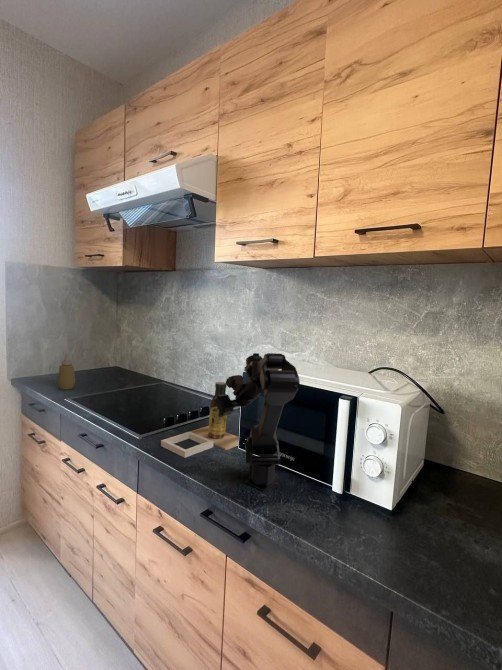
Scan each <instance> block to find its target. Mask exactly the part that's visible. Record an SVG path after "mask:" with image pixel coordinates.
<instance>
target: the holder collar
mask: <svg viewBox="0 0 502 670" xmlns="http://www.w3.org/2000/svg"><path fill="white" fill-rule="evenodd" d="M187 440H191V441H194V442H196V443H198V444H197V445H194V446H192V447H189V448H186V449H185V448H184V447H181V446H179V445H177V443H180V442H183V441H187ZM160 447H162V448H163V449H166V450H168V451H170V452H173V453H174V454H176V455H178V456H180V457H182V458H184V459H186V458H188V457H190V456H194V455H196V454H198V453H202V452H205V451H206V450H209V449H212V448H214V445H213V441H211V440H209V439H206V438H204V437H202V436H199V435H197V434H194V433H192V432H190V431H186V432H183V433H180V434H178V435H175V436H171V437H167V438H165V439H161V440H160Z"/></svg>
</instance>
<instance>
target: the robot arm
mask: <svg viewBox="0 0 502 670" xmlns="http://www.w3.org/2000/svg"><path fill="white" fill-rule="evenodd" d="M244 372H245V374H246V376H247V378H249V377H250V378H249V379H248V381H247V383H246V384H243V377H244V376H242V375H241V374H237V375H231V376H228V378H226V380H225V383H226V385H227V388H229V389H232V390H233V392H232V394H233V396H235V399H231V397H230V394H223V395H218V396H217V397H216V398H215V403H216V405H217V407H218V410H219V414H218V415H219V417H223V416H226V415H227V416H228V415H231V414H232V413H233V412H234V408H239V407H240V409H241V408H245V407H246V406H248V405H249V404H251V403H252V402H253V401H254V400H256V399H257V397H258V396H259V395H260V394H263V395H264V397H265V403H264V407H262V411H261V415H260V419H259V423H258V424H253V425H252V426H251V429H250V432H249V433H250V434H249V436H248V437H247V439H246V440H247V442H246V443H244V446H245V448H244V449H245V460H244V461H245V463H246V464H248V468H249V469H248V479H246V480H245V483H246V484H247V485H250V486H252V487H254V488H257V490H260V491H263V492H265V491H267V490H269V489H270V488H271V487H273V486H276V485H277V484H278V480H276V479H275V469H276V466H280V463H281V455H280V454H281V453H280V447H279V439H278V437H277V434H276V433H277V428H278V425H279V421H280V418H281V415H282V412H283V409H284V406H285V405H286V404H288V403H290V402H291V401H293V399H294V398H295V396H296V394H297V392H298V391H299V390H300V385H301V384H300V383H301V382H300V376H299V374H298V371H297V369H296V366H295V365H293V364H292V363H291V362H289V361H288V360H287V359H286V356H285V354H282V353H275V352H274V353H273V352H271V353H270V352H268V353H265V354H263V357H262V356H261V355H260V353H256V352H254V353H252V355H249V356H248V357H246V359H245V366H244Z"/></svg>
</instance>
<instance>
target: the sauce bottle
mask: <svg viewBox="0 0 502 670" xmlns="http://www.w3.org/2000/svg"><path fill="white" fill-rule="evenodd" d="M214 386H215V387H214V388H215V393H214V396H213V397H212V399H211V401H210V407H209V409H210V410H209V418H208V426H209V428H208V432H209V433H208V435H209V437H211V438H215V439H219V438H223V437H224V435H225V432H226V428H227V418H228V417H227V416H228V415H226V416H223V417H219V415H218V414H219V410H218V407H217V405H216V403H215V398H216V397H217V396H218V395H223V394H226V392H227V391H226V390H227V388H228V386H227V385H226V382H224V381H223V382H222V381H216V382H215V384H214Z"/></svg>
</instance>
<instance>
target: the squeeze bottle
mask: <svg viewBox="0 0 502 670" xmlns="http://www.w3.org/2000/svg"><path fill="white" fill-rule="evenodd" d="M57 377H58V378H57V384H58V387H59V389H60V390H72V389H73V388H74V385H75V383H76V378H75V377H76V375H75V368H74V364H73V362H72V360H70V357H69V353H65V355H64V358H63V360H61V365H60V366H59V369H58V376H57Z"/></svg>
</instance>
